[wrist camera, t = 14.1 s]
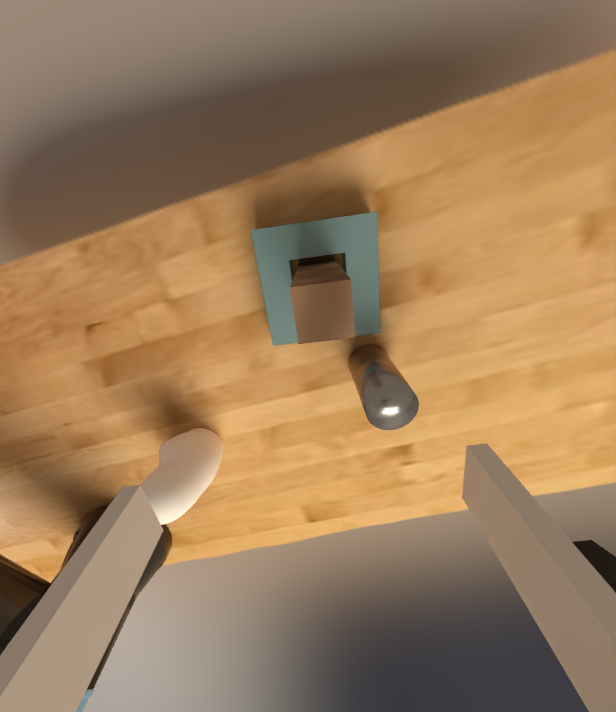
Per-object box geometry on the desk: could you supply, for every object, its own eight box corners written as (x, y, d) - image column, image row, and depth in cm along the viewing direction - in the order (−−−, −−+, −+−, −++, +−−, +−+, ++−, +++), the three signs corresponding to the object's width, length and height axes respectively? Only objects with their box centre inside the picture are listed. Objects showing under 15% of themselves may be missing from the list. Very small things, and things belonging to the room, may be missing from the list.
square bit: (303, 300, 33) (298, 344, 20) (298, 264, 32) (289, 287, 19) (338, 295, 33) (355, 337, 20) (334, 259, 31) (350, 279, 18)
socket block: (276, 336, 35) (273, 345, 32) (256, 230, 30) (250, 230, 27) (375, 324, 34) (380, 332, 31) (370, 213, 29) (376, 211, 27)
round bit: (354, 385, 37) (372, 435, 28) (344, 352, 35) (360, 394, 26) (392, 374, 37) (422, 421, 28) (383, 339, 35) (413, 378, 26)
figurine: (173, 419, 40) (121, 491, 29) (228, 429, 41) (197, 502, 30) (172, 457, 43) (125, 536, 32) (223, 466, 44) (193, 546, 33)
